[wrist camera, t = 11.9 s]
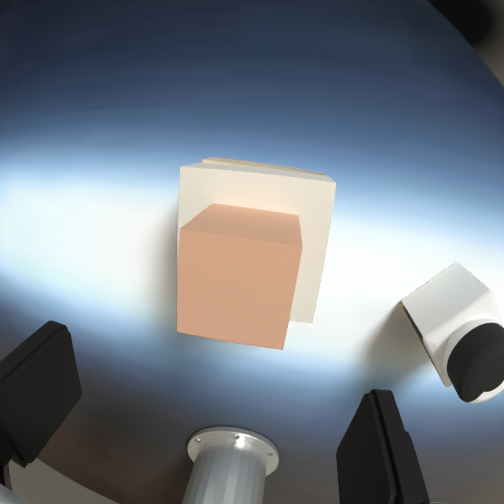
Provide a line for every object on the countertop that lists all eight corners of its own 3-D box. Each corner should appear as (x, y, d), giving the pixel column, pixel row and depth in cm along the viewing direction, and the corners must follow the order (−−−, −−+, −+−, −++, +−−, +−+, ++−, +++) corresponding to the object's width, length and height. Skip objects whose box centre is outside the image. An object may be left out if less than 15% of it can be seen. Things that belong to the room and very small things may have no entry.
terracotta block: (285, 293, 20) (282, 350, 14) (206, 281, 20) (177, 331, 15) (298, 214, 18) (302, 246, 13) (212, 203, 19) (179, 229, 13)
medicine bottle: (398, 300, 28) (444, 379, 17) (456, 259, 26) (525, 319, 15) (423, 347, 30) (464, 426, 19) (476, 310, 28) (532, 376, 17)
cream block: (309, 293, 25) (312, 323, 20) (194, 278, 25) (176, 304, 21) (327, 175, 22) (336, 182, 18) (200, 162, 22) (180, 166, 18)
